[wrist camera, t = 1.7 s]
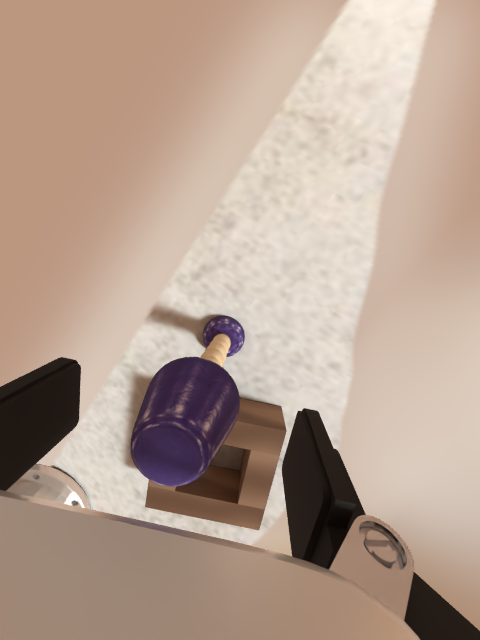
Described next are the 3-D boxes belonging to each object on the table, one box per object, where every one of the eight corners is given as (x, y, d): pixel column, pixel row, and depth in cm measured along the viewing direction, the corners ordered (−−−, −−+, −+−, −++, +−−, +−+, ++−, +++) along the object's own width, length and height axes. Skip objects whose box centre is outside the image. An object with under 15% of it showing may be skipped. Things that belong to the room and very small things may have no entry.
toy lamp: (191, 330, 25) (77, 453, 9) (223, 300, 24) (166, 372, 8) (223, 363, 26) (174, 534, 9) (256, 334, 25) (265, 468, 8)
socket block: (258, 494, 29) (259, 530, 25) (159, 474, 29) (145, 506, 25) (281, 406, 26) (286, 431, 22) (172, 384, 26) (158, 405, 22)
